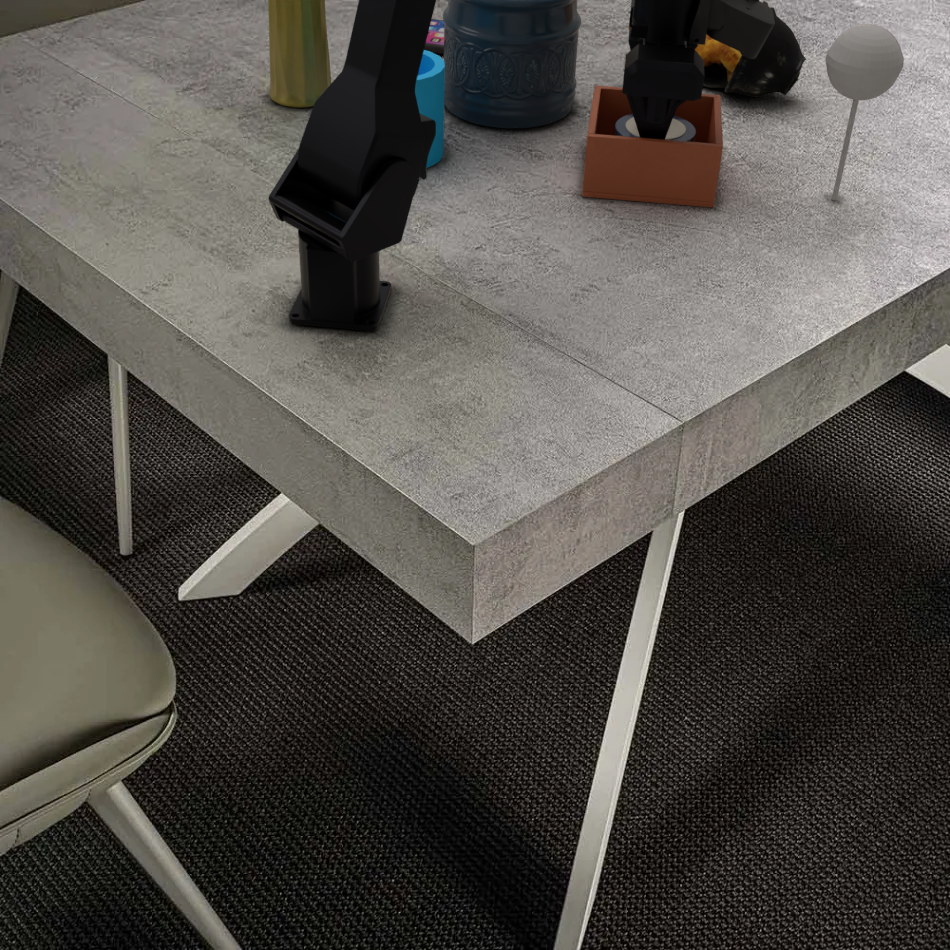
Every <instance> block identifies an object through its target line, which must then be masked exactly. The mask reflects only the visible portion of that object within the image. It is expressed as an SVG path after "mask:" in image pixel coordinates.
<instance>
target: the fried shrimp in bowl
mask: <svg viewBox="0 0 950 950" xmlns="http://www.w3.org/2000/svg"><path fill="white" fill-rule="evenodd" d="M770 8H771V9H772V10H773V14H774V21H775V24H774V26H773V28H772V30H771V32H770V33H769V35H768V37H767V39H766V41H765V42H764V44H763V46H762V48H761V50H760V51H759V53H758V55H757V57H756V58H755V59H751V58H747V57H745V56H743V55H741V53H740V51H738V50H736V49H734V48H731V47H729V46H727V45H725V44H723V43H720V42H718V41H716V40H714V39H712V38H711V37H709V36H708V35H707V34H706V41H705V45H700V44H698V46H697V48H696V49H695V50H696V51H697V53H698V54H699V55H700V56H701V58H702V59H703V60H704V81H703V87H705V88H710V89H711V88H712V89H724V93H725V94H730V93H731V94H732V93H735V94H739V95H743V96H747V97H751V98H762V97H766V96H769V95H773V94H781V95H783V96H784V97H785V96H787V94H788V93H789V92H790V91H791V90H792V89H793V87H794V86H795V84H797V82H798V81H799V77H800V74H801V70H802V68H803V65H804V63H805V61H806V60H807V58H806V56H805V55H804V54H803V52H802V49H801V46H800V43H799V41H798V40H797V37H796V35H795V33H794V32H793V30H792V28H791V27H790V26H789V25H788V24H787V23H786V22H785V21H784V20H782V19H781V18H780V17H779V16H778V15H777V12H776V9H775V7H773V6H772V7H771V6H770ZM627 28H628V32H629V31H630V30H631V28H632V27H629V26H628V27H627Z"/></svg>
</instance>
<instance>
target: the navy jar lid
mask: <svg viewBox="0 0 950 950" xmlns="http://www.w3.org/2000/svg"><path fill="white" fill-rule="evenodd" d="M614 136H626V137H638V138H640V136H639V132H638V129H637V126H636V123H635V120H634V117H633V114H629V115H626V116H623V117H621V118H620V119H619V120H617V122H616V124H615V130H614ZM695 136H696V129H695V127H694V126H693V125H692V124H691V123H690V122H688V121H687V120H685V119H683V118H680V117H677V116H674V117H673V119H672V122H671V125H670V127H669V130H668V133H667V135H666V138H665V140H676V141H688V142H695Z"/></svg>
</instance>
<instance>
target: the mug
mask: <svg viewBox="0 0 950 950" xmlns="http://www.w3.org/2000/svg"><path fill="white" fill-rule="evenodd" d="M444 83H445V64H444V58H442V57H441V56H440V55H438V54H437V53H435V52H430V51H426V50H424V52H423V56H422V60H421V64H420V68H419V72H418V76H417V80H416V86H415V95H416V99H417V104H418V108H419V113H420V114H422V115H424V116H426V117H428V118H430V119H433V120H434V121H435V122H436V136H435V138H434V141H433V144H432V146H431V149H430V152H429V155H428V160H427V166H426V169H428V168H430V167H433V166H434V165H436V164H437V163H439V162H440V161H441V160H442V159H443V157H444V142H445V141H444V140H445V139H444V138H445V137H444V136H445V134H444V133H445V103H444Z"/></svg>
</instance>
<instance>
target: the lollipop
mask: <svg viewBox="0 0 950 950" xmlns="http://www.w3.org/2000/svg"><path fill="white" fill-rule="evenodd" d="M904 62H905V58H904V54H903V50H902V47H901V45H900V42H899V41H898V39H897V37H896V36H895V35H894V34H893V33H892V32H891V31H890V30H889V29H887V28H885V27H883V26H882V25H879V24H878V25H877V24H873V23H862V24H857V25H853V26H851V27H850V28H848V29H846V30H845V31H843V32H842V33H841V34H840V35H838V36H837V38H836V39H835V40H834V41H833V43H832V44H831V46H830V47H829V48H828V50H827V52H826V55H825V66H826V73H827V77H828V80H829V82H830V84H831V85H832V87H833V88H834V89H835V91H836V92H838V93H839V94H840V95H841V96H844V97H845V98H847V99H850V100H852V101H851V106H850V107H851V108H850V111H849V112H850V113H849V117H848V121H847V126H846V131H845V136H844V140H843V145H842V149H841V154H840V157H839V163H838V168H837V172H836V176H835V182H834V186H833V189H832V190H833V191H832V194H831V200H832V201H834V202H835V201H837V200H838V198H839V197H838V196H839V193H840V187H841V184H842V178H843V174H844V170H845V166H846V160H847V156H848V151H849V146H850V144H851V143H850V142H851V138H852V133H853V128H854V125H855V120H856V115H857V110H858V105H859V101H868V100H872V99H875V98H877V97H880V96H882V95H884V94H885V93H886V92H887V91H889V90H890V89H891V88H892V86H894V85H895V83H896V82H897V79H898V78H899V76H900V74H901V72H902V70H903V68H904V64H905V63H904Z"/></svg>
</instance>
